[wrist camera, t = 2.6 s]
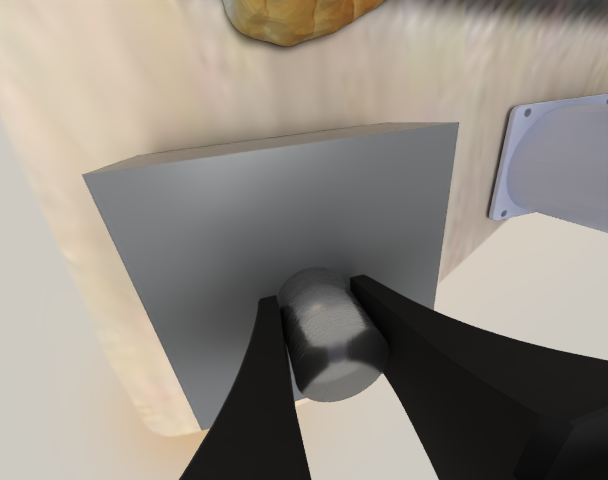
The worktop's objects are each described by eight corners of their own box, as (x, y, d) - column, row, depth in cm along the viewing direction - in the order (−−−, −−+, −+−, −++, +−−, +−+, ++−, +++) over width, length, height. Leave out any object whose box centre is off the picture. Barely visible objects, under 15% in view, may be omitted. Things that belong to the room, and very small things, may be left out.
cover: (387, 122, 14) (569, 122, 6) (382, 305, 19) (478, 422, 12) (137, 155, 12) (-29, 213, 4) (209, 351, 17) (191, 531, 9)
